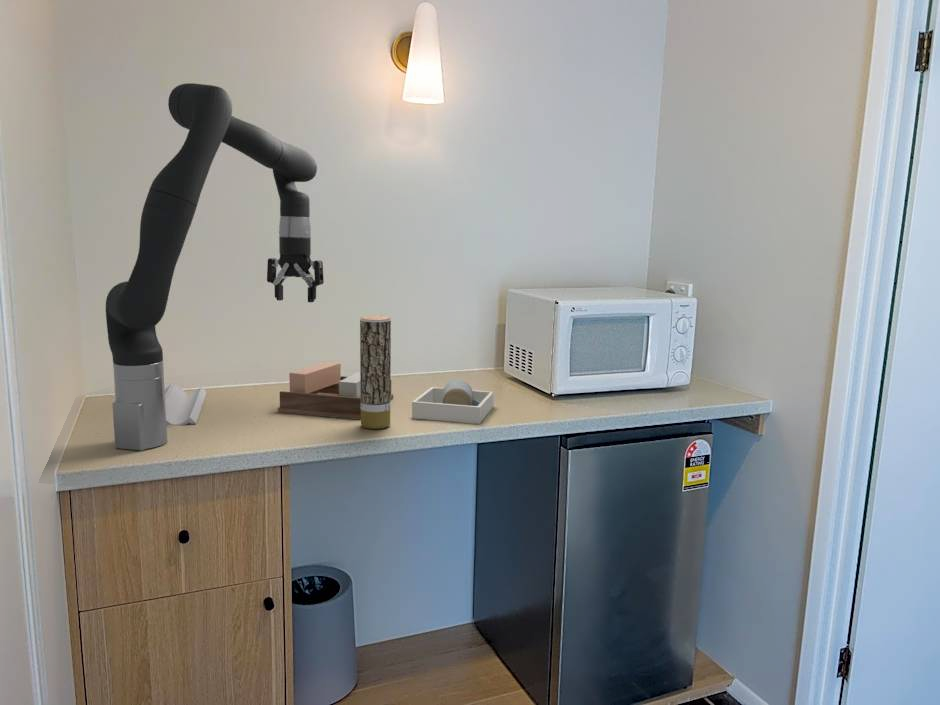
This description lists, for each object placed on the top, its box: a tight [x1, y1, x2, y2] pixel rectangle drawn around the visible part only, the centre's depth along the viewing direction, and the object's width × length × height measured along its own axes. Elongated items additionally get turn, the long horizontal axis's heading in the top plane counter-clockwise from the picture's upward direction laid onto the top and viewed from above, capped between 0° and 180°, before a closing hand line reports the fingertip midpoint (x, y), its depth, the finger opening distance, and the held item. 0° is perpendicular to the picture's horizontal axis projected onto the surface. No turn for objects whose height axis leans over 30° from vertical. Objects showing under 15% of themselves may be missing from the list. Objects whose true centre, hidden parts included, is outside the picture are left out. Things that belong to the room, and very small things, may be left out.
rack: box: [277, 375, 394, 420], centre depth 183 cm, size 22×22×5 cm
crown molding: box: [165, 382, 208, 426], centre depth 177 cm, size 31×12×4 cm, turn 16°
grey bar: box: [339, 370, 360, 398], centre depth 182 cm, size 16×4×5 cm, turn 167°
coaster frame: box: [411, 386, 495, 425], centre depth 179 cm, size 17×17×4 cm
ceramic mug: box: [442, 379, 480, 406], centre depth 178 cm, size 11×8×8 cm
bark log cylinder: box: [359, 315, 392, 430], centre depth 164 cm, size 7×7×25 cm
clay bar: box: [288, 361, 342, 393], centre depth 184 cm, size 16×4×5 cm, turn 158°
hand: (295, 301), depth 180 cm, fingers open, 8 cm apart
